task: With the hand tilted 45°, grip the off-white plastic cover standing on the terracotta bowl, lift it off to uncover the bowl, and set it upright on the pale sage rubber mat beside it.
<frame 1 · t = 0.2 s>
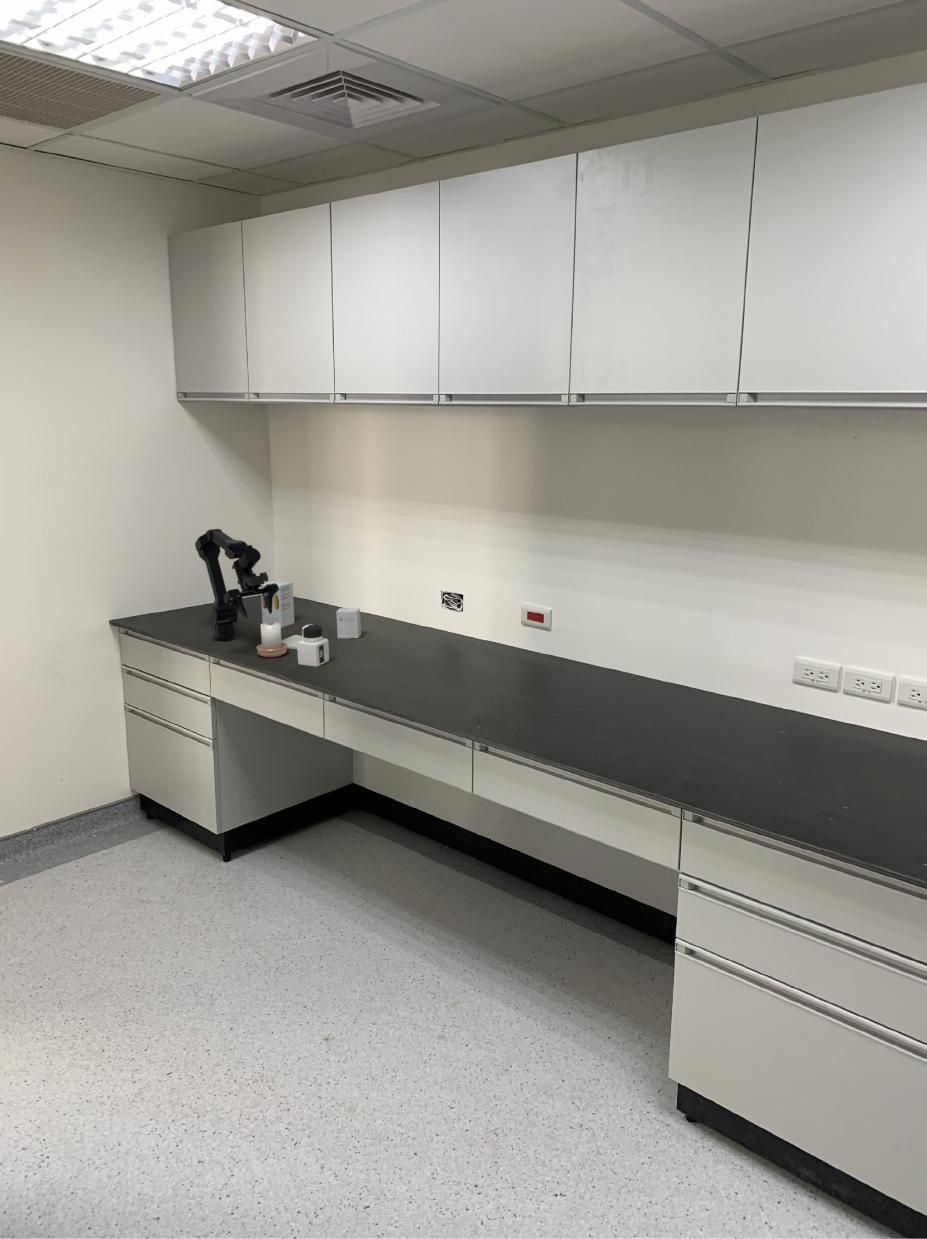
hand: (258, 615, 305), 15 cm above the worktop, tool tilted 35°, fingers open, 9 cm apart
cover: (271, 646, 309), point 3 cm above the worktop, touching bowl
bowl: (272, 654, 310), on the worktop
supplement box: (278, 624, 352), on the worktop
mat: (300, 643, 324), on the worktop
small box: (349, 637, 333), on the worktop
container: (313, 663, 300), on the worktop
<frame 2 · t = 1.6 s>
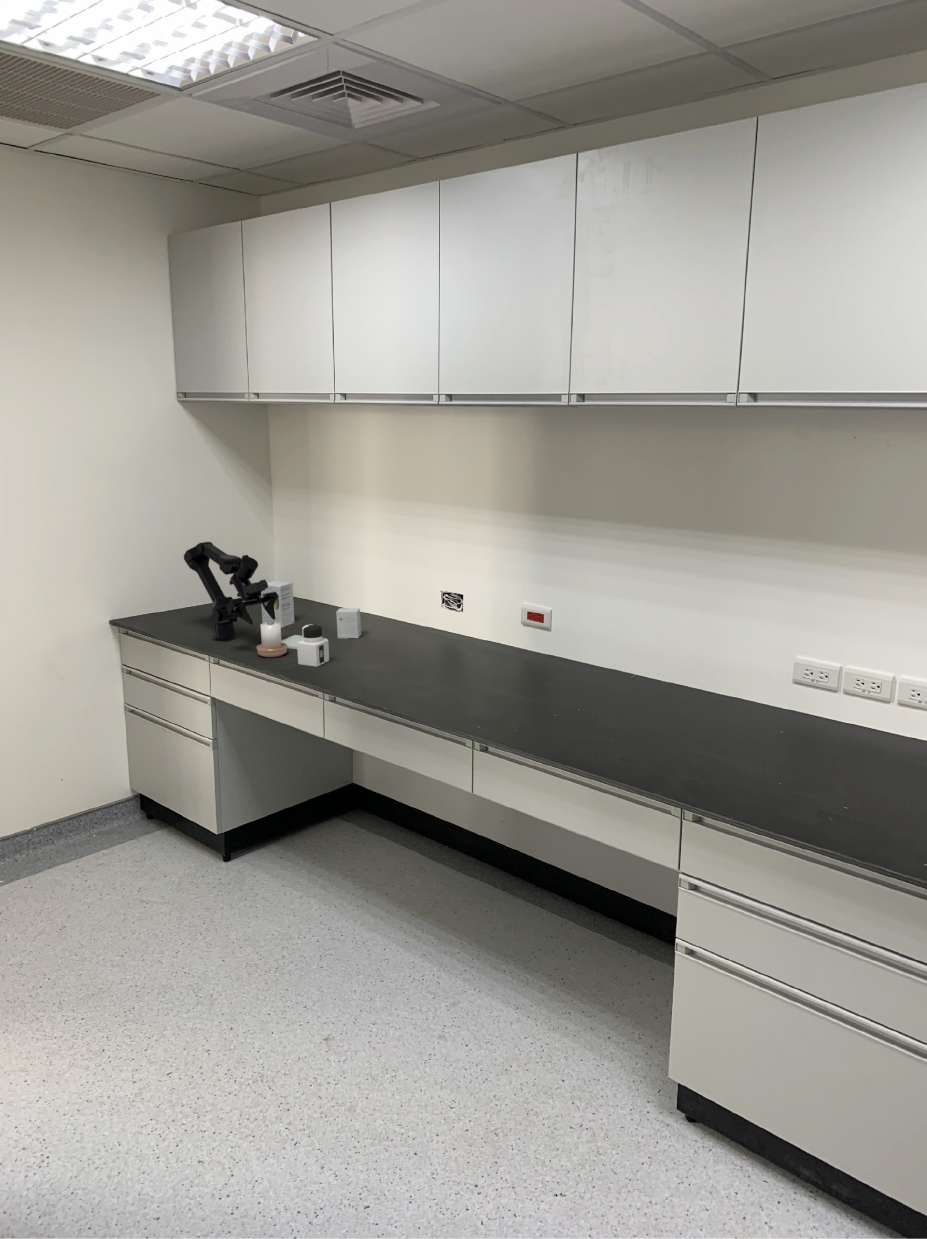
hand: (263, 621, 310), 11 cm above the worktop, tool tilted 45°, fingers open, 9 cm apart
nothing on the worktop moved.
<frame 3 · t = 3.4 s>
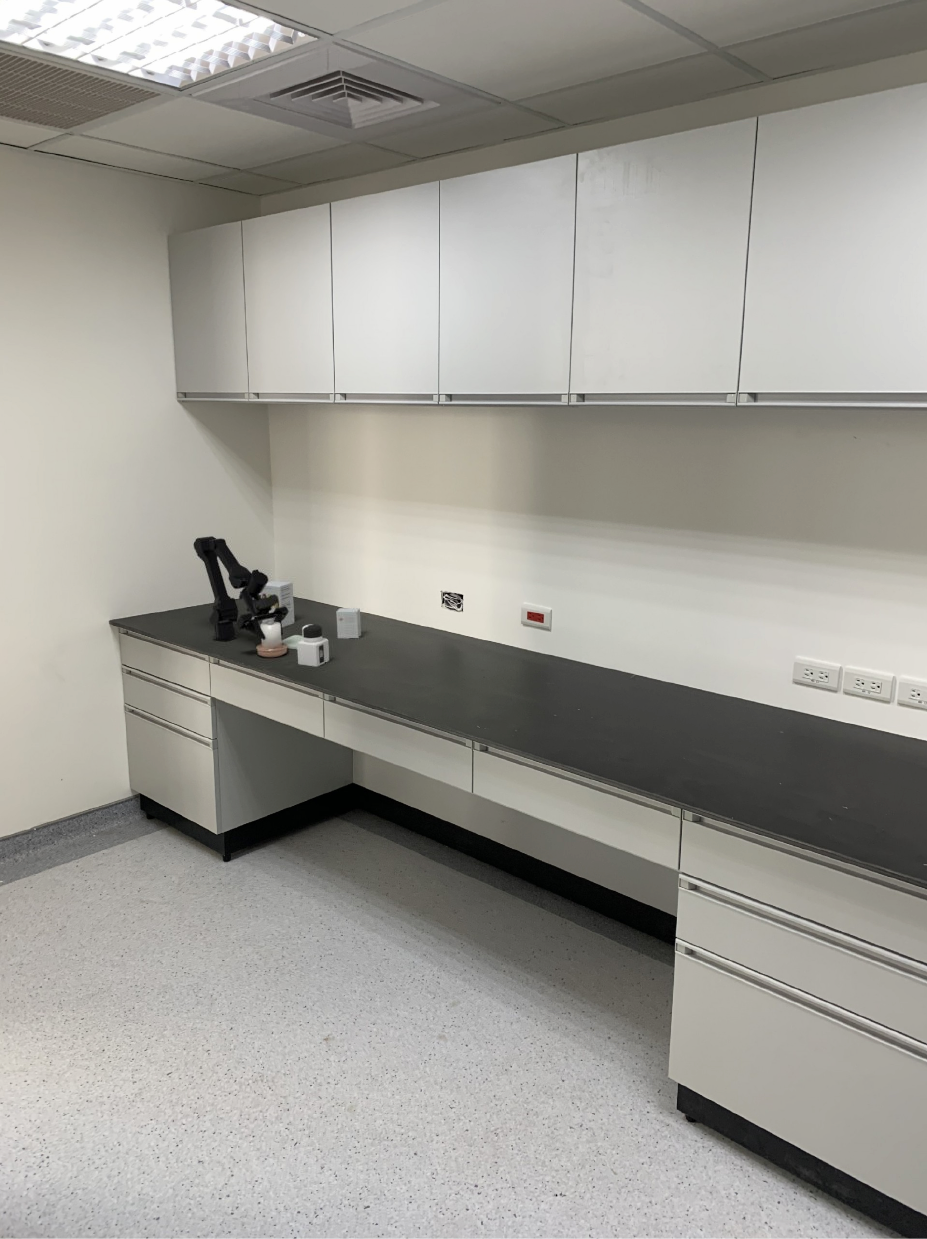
hand: (273, 637, 307), 7 cm above the worktop, tool tilted 45°, fingers closed on cover, 7 cm apart
cover: (271, 646, 309), point 3 cm above the worktop, touching bowl, gripper
everything else where it was.
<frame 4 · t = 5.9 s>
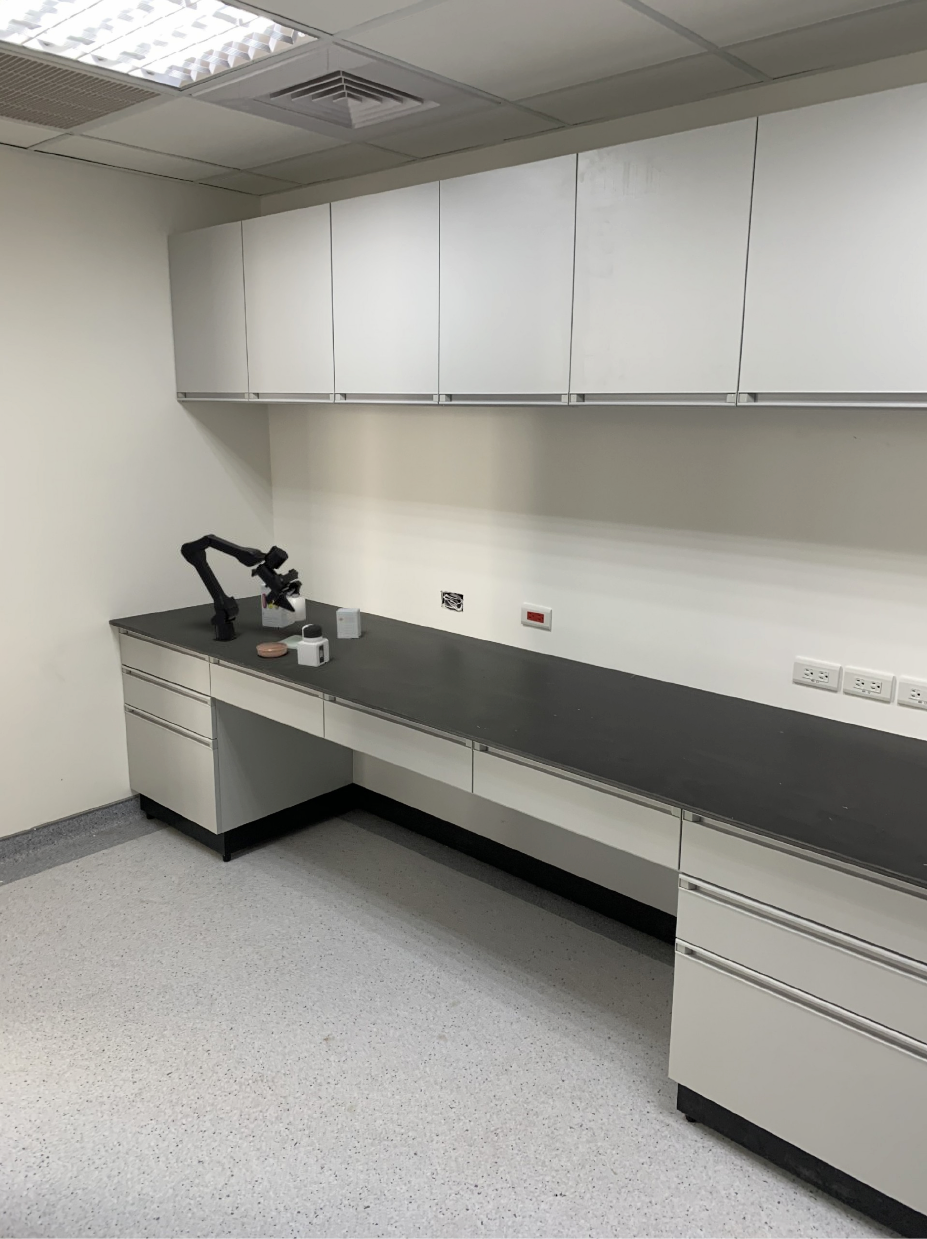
hand: (299, 609, 318), 13 cm above the worktop, tool tilted 45°, fingers closed on cover, 7 cm apart
cover: (296, 618, 320), point 10 cm above the worktop, touching gripper
everything else where it was.
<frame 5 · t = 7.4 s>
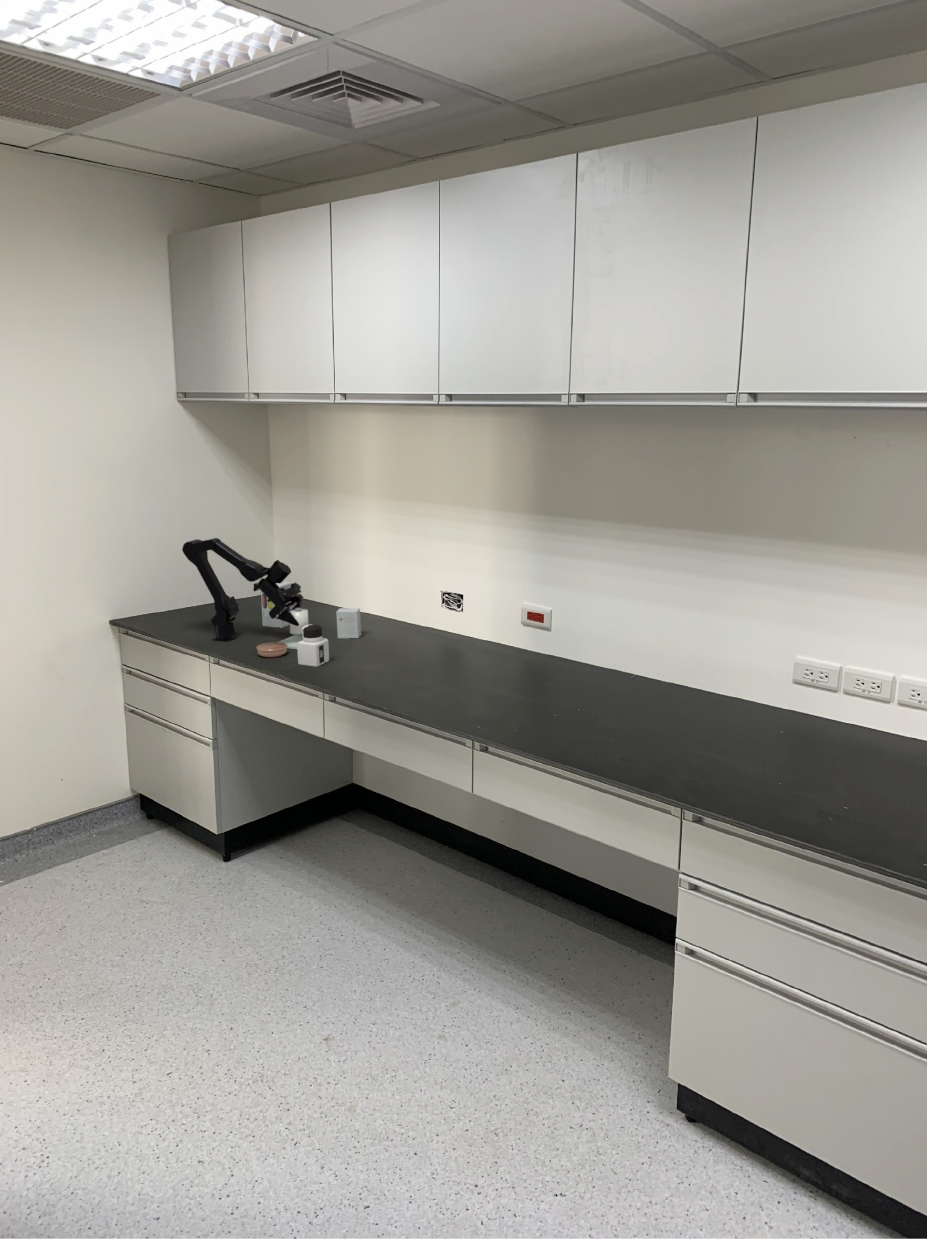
hand: (302, 622, 322), 8 cm above the worktop, tool tilted 45°, fingers closed on cover, 7 cm apart
cover: (299, 632, 323), point 4 cm above the worktop, touching gripper
everything else where it was.
when the fingers open (6 cm above the worktop, at t = 8.3 s): cover drops 2 cm, resting on mat.
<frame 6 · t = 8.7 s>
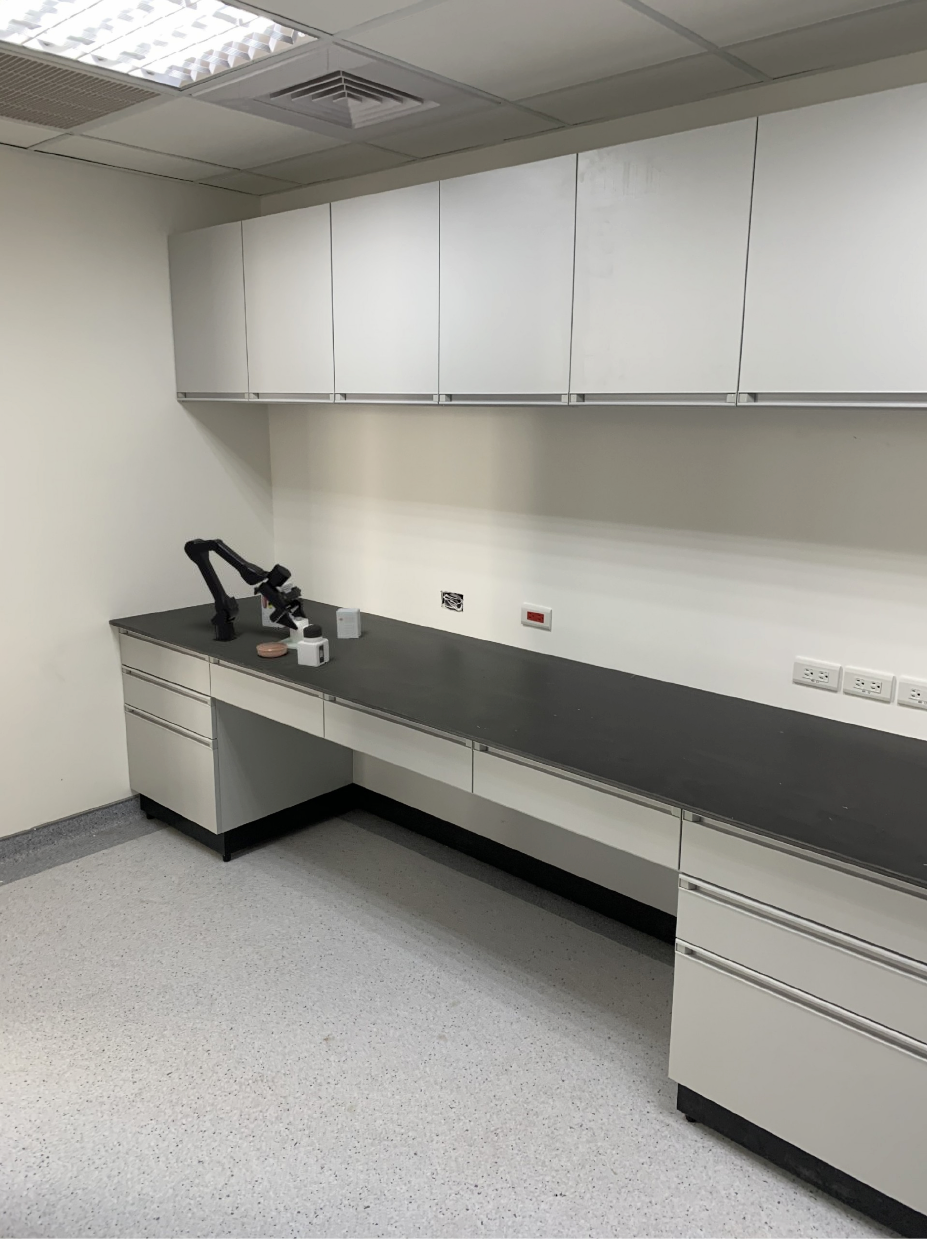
hand: (302, 626, 322), 7 cm above the worktop, tool tilted 45°, fingers open, 9 cm apart
cover: (300, 641, 324), point 1 cm above the worktop, touching mat
everything else where it was.
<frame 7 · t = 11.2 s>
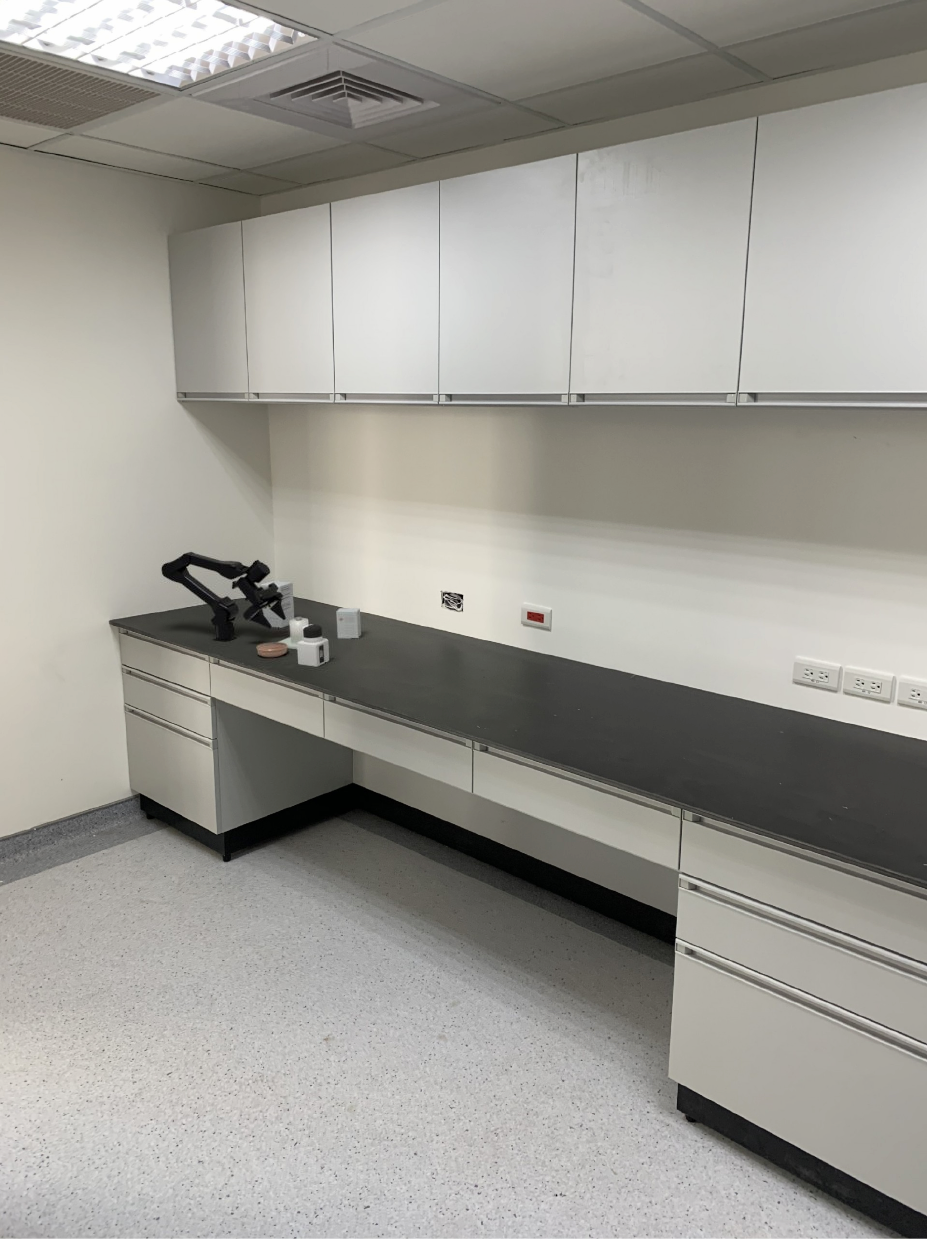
hand: (278, 623, 324), 7 cm above the worktop, tool tilted 40°, fingers open, 9 cm apart
nothing on the worktop moved.
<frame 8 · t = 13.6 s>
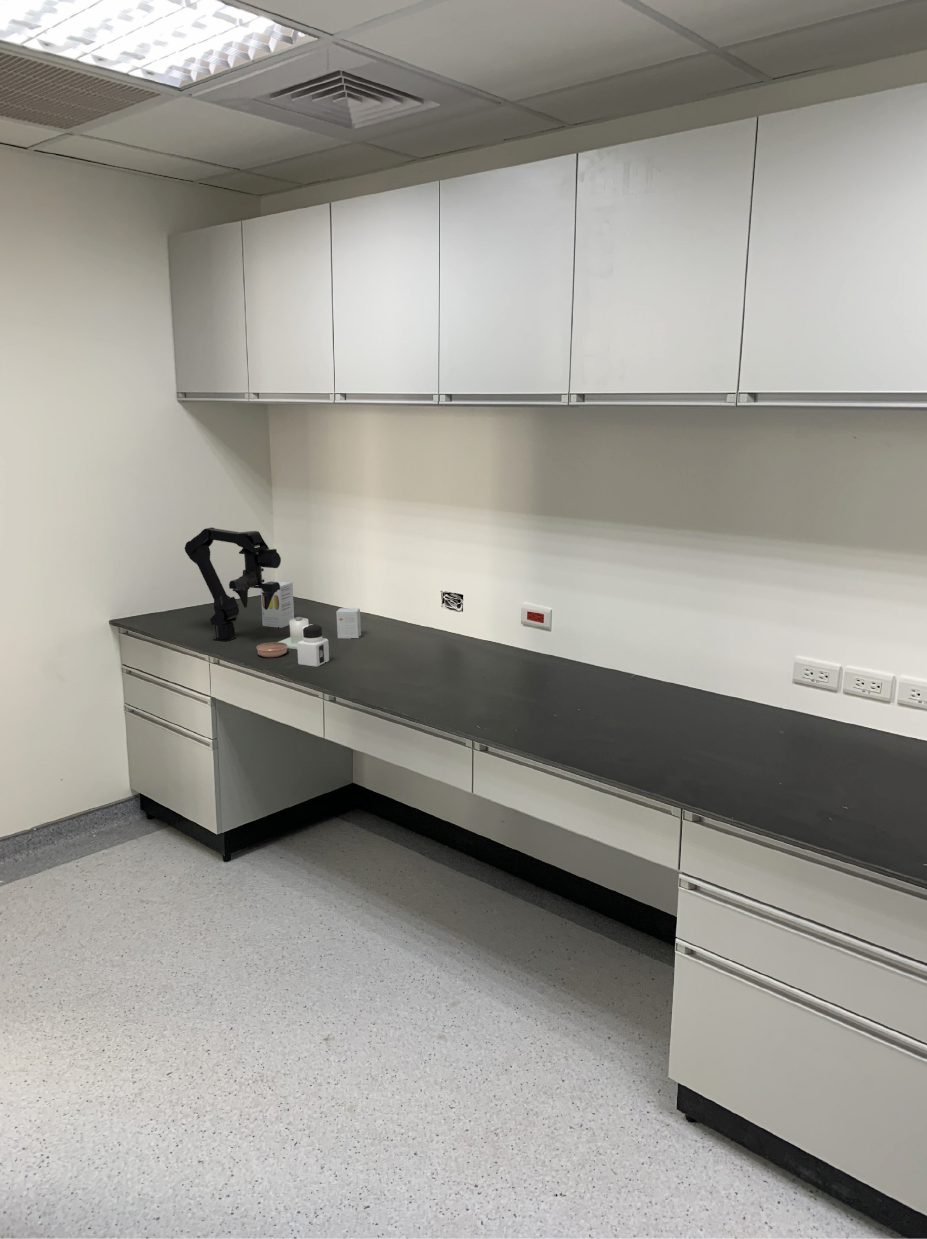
hand: (255, 608, 322), 13 cm above the worktop, tool pointing down, fingers open, 9 cm apart
nothing on the worktop moved.
at the end: cover inside the target area on the mat (0.0 cm from its centre), point 0.9 cm above the mat's base; cover tilted 1°; the gripper is holding nothing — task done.
